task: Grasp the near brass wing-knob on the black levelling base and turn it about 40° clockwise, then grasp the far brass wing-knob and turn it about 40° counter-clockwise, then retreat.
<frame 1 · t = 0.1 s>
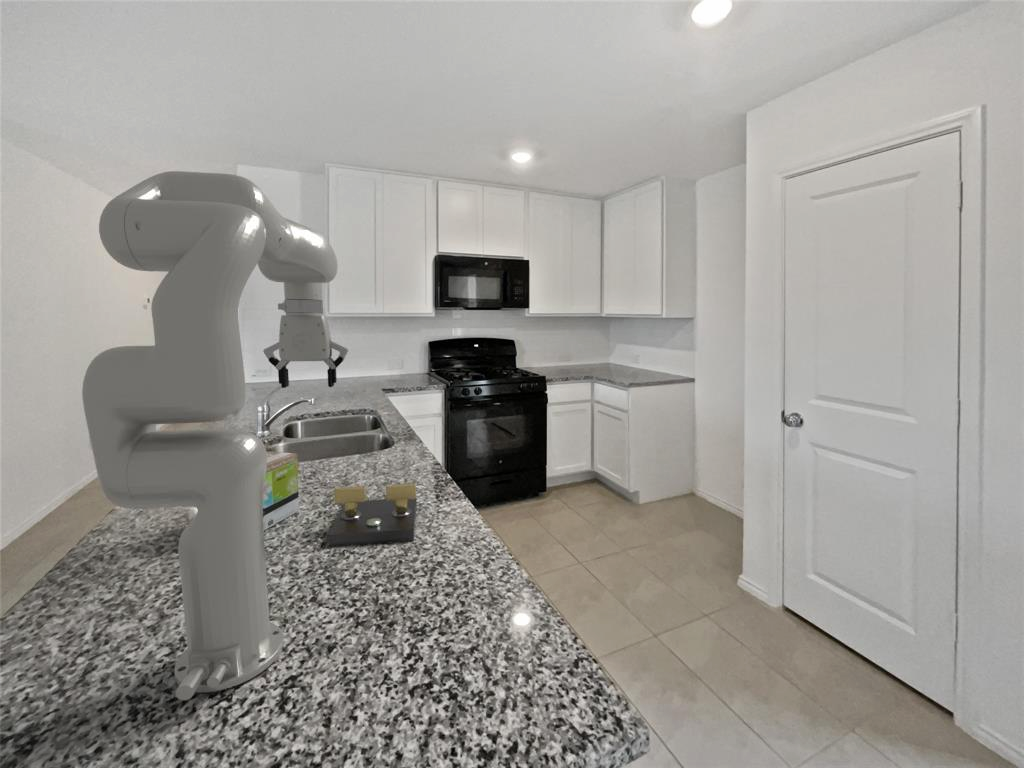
hand: (308, 386, 103), 31 cm above the countertop, fingers open, 9 cm apart
knob far: (350, 500, 102), point 6 cm above the countertop, hinge at 0.0°
tea box: (260, 522, 106), on the countertop
levelling base: (377, 524, 104), on the countertop
knob near: (401, 497, 104), point 6 cm above the countertop, hinge at 0.0°
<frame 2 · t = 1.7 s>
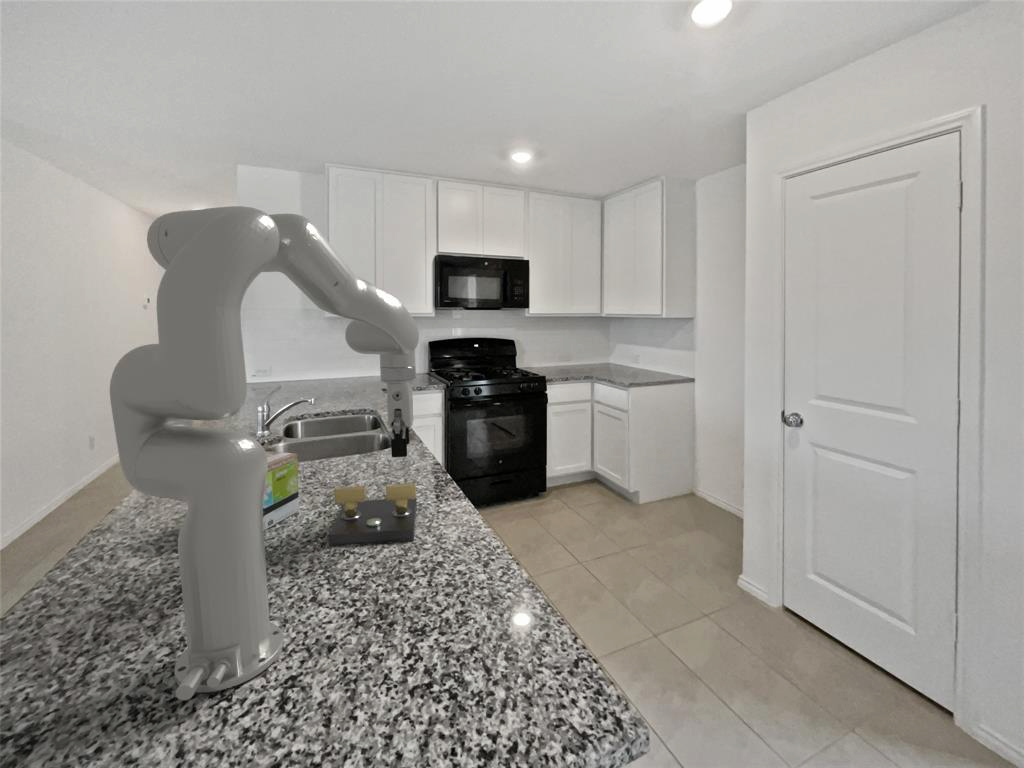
hand: (401, 450, 103), 17 cm above the countertop, fingers open, 9 cm apart
nothing on the countertop moved.
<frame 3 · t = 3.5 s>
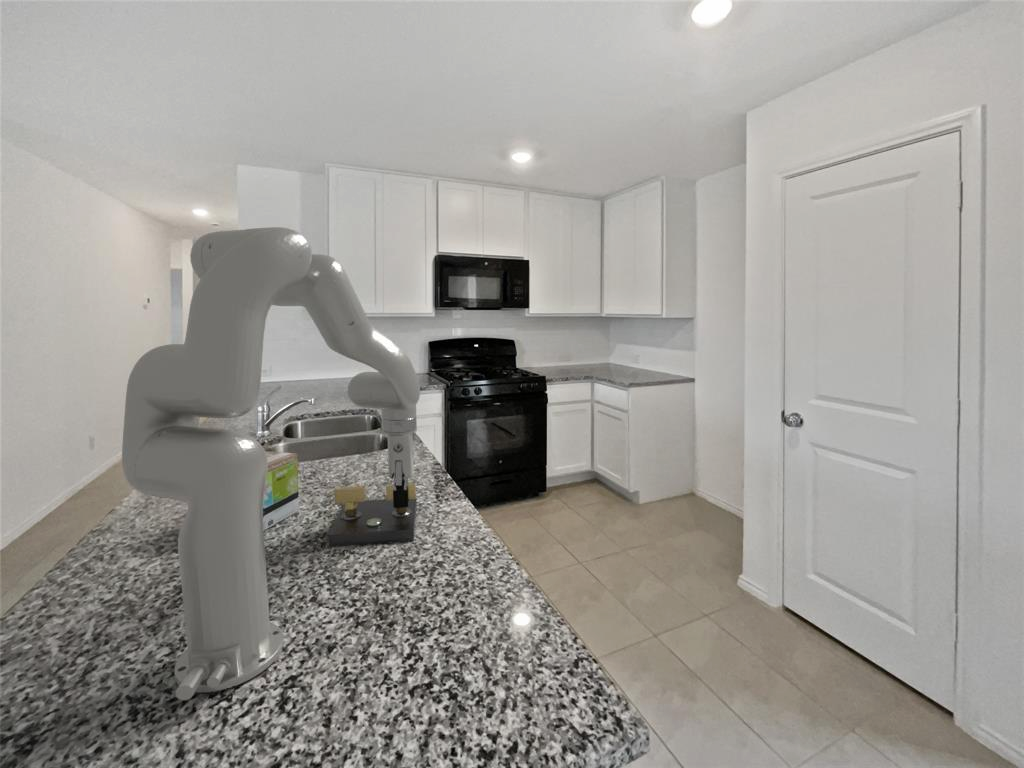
hand: (401, 503, 105), 5 cm above the countertop, fingers closed on knob near, 2 cm apart
knob near: (401, 497, 104), point 6 cm above the countertop, hinge at 0.0°, touching gripper
everything else where it was.
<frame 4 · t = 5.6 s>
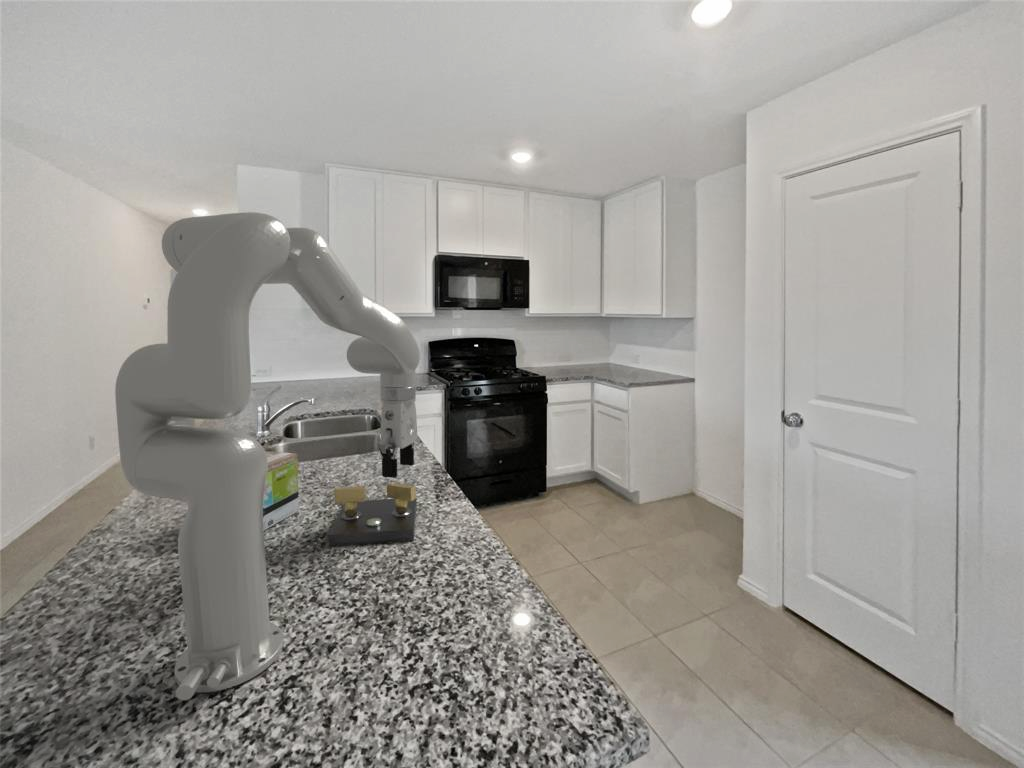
hand: (398, 470, 103), 13 cm above the countertop, fingers open, 9 cm apart
knob near: (401, 497, 104), point 6 cm above the countertop, hinge at -30.5°
everything else where it was.
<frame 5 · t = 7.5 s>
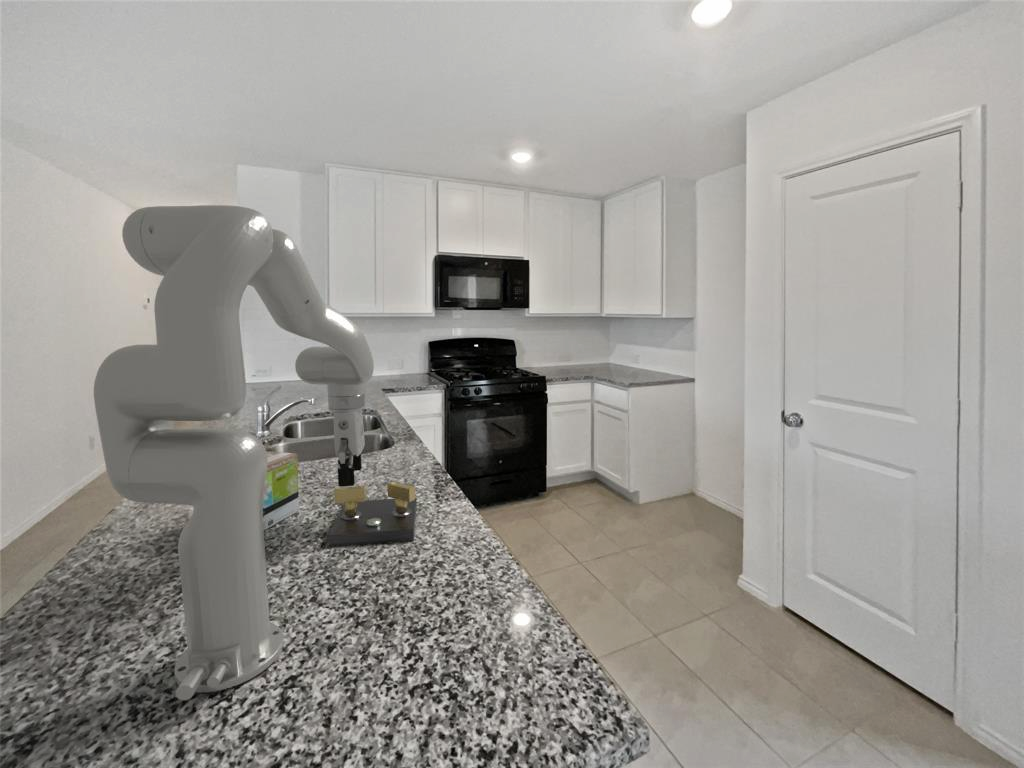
hand: (350, 477, 102), 11 cm above the countertop, fingers open, 9 cm apart
knob near: (401, 497, 104), point 6 cm above the countertop, hinge at -38.1°
everything else where it was.
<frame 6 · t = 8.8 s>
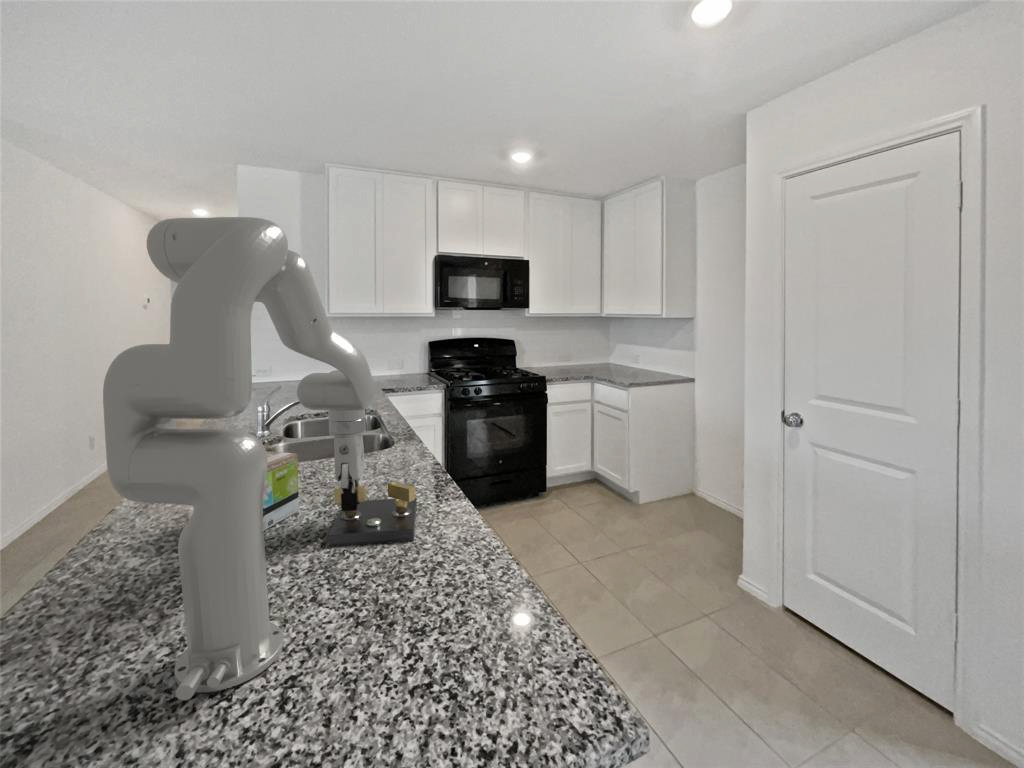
hand: (350, 506, 103), 5 cm above the countertop, fingers closed on knob far, 2 cm apart
knob far: (350, 500, 102), point 6 cm above the countertop, hinge at 0.0°, touching gripper
knob near: (401, 497, 104), point 6 cm above the countertop, hinge at -39.6°
everything else where it was.
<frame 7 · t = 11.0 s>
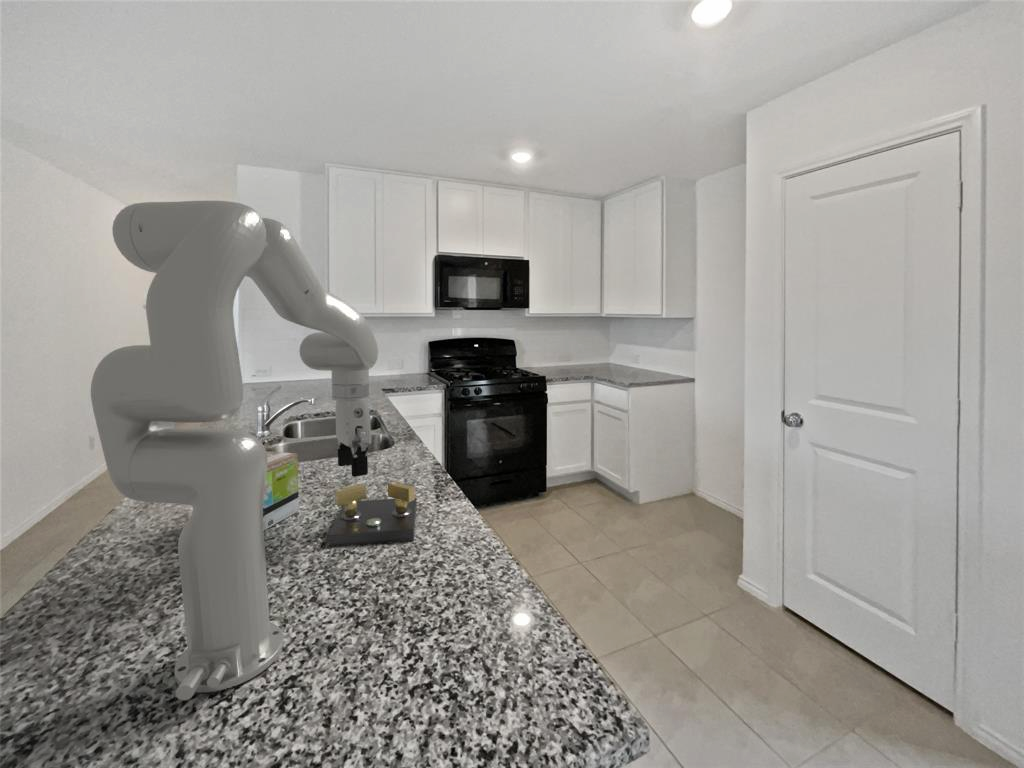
hand: (352, 470, 100), 14 cm above the countertop, fingers open, 9 cm apart
knob far: (350, 500, 102), point 6 cm above the countertop, hinge at 31.8°
knob near: (401, 497, 104), point 6 cm above the countertop, hinge at -40.4°
everything else where it was.
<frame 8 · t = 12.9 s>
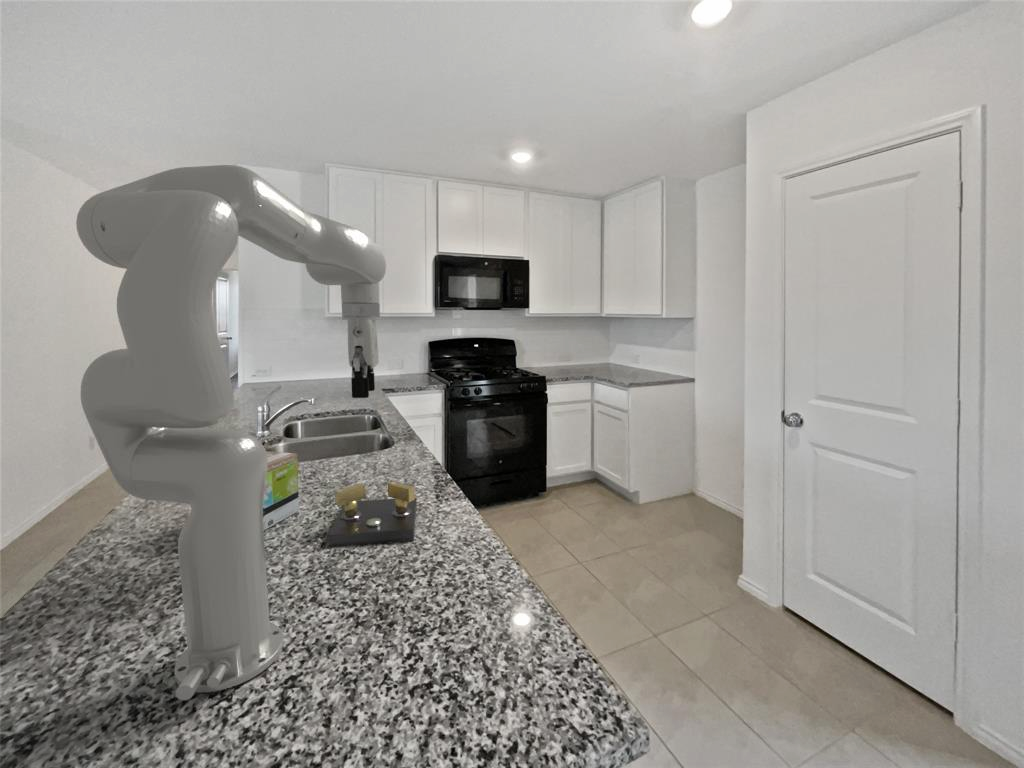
hand: (364, 394, 98), 30 cm above the countertop, fingers open, 9 cm apart
knob far: (350, 500, 102), point 6 cm above the countertop, hinge at 39.3°
everything else where it was.
at the end: knob near at -40° (first picture: +0°); knob far at +40° (first picture: +0°); the gripper is holding nothing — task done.
